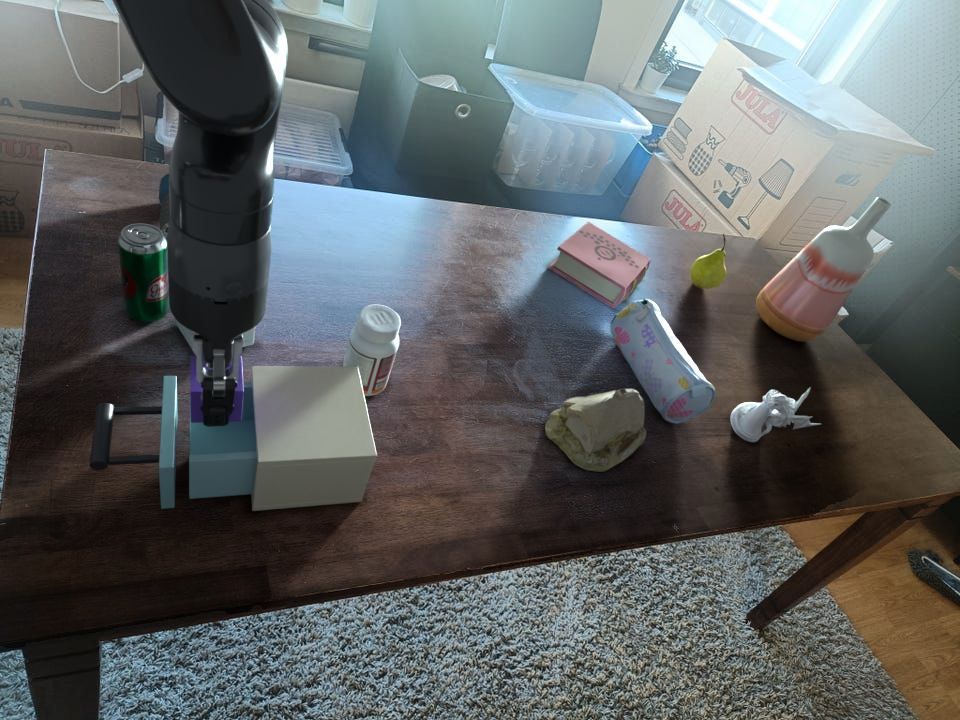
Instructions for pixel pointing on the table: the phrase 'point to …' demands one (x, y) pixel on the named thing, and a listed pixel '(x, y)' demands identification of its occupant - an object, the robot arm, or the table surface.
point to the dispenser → (310, 436)
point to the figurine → (767, 415)
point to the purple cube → (196, 394)
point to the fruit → (709, 269)
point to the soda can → (144, 272)
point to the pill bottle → (373, 346)
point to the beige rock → (599, 428)
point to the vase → (819, 279)
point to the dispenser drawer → (213, 450)
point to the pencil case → (661, 362)
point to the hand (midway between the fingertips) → (215, 402)
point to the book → (600, 264)
